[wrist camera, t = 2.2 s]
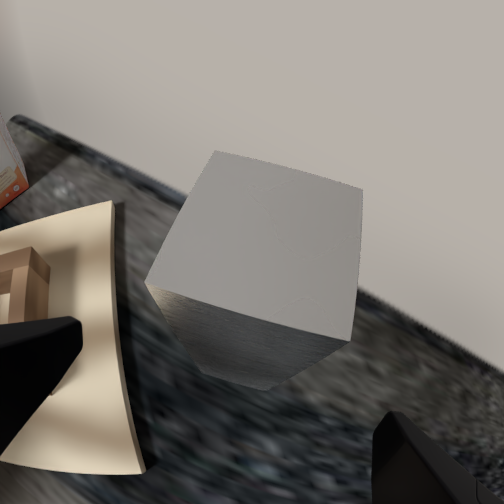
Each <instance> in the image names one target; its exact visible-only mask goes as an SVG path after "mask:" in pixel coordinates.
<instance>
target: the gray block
mask: <svg viewBox="0 0 504 504" xmlns="http://www.w3.org/2000/svg"><path fill="white" fill-rule="evenodd" d="M362 201H363V190H362V189H359V188H356V187H353V186H350V185H347V184H343V183H341V182H337V181H334V180H331V179H327V178H324V177H320V176H317V175H314V174H310V173H307V172H303V171H300V170H296V169H292V168H288V167H284V166H280V165H276V164H272V163H269V162H264V161H260V160H256V159H252V158H248V157H243V156H239V155H233V154H229V153H224V152H220V151H214V153H213V155H212V156H211V158H210V159H209V161H208V163H207V164H206V166H205V168H204V170H203V171H202V173H201V175H200V176H199V178H198V180H197V182H196V183H195V185H194V187H193V189H192V191H191V192H190V194H189V196H188V198H187V199H186V201H185V203H184V205H183V207H182V209H181V210H180V212H179V214H178V216H177V218H176V220H175V222H174V224H173V226H172V227H171V229H170V231H169V233H168V235H167V237H166V239H165V241H164V243H163V245H162V247H161V249H160V251H159V253H158V255H157V257H156V259H155V261H154V263H153V265H152V267H151V269H150V271H149V274H148V276H147V278H146V280H145V282H144V283H145V284H146V286H147V288H148V290H149V291H150V293H151V295H152V296H153V298H154V300H155V302H156V303H157V305H158V307H159V308H160V310H161V311H162V313H163V315H164V316H165V318H166V320H167V321H168V323H169V324H170V326H171V327H172V329H173V331H174V332H175V334H176V335H177V337H178V338H179V340H180V341H181V343H182V344H183V346H184V347H185V349H186V350H187V352H188V353H189V355H190V356H191V358H192V359H193V361H194V362H195V364H196V365H197V366H198V368H199V369H200V371H201V372H202V373H205V374H208V375H211V376H214V377H217V378H220V379H224V380H227V381H230V382H234V383H237V384H241V385H244V386H248V387H252V388H256V389H259V390H263V391H266V390H268V389H270V388H272V387H274V386H276V385H278V384H280V383H282V382H283V381H285V380H287V379H289V378H291V377H293V376H294V375H296V374H298V373H300V372H301V371H303V370H305V369H307V368H308V367H310V366H312V365H313V364H315V363H317V362H318V361H320V360H322V359H323V358H325V357H327V356H328V355H330V354H331V353H333V352H335V351H336V350H338V349H339V348H341V347H342V346H344V345H346V344H347V343H349V342H350V339H351V333H352V326H353V318H354V311H355V302H356V294H357V284H358V273H359V262H360V247H361V231H362V204H363V202H362Z"/></svg>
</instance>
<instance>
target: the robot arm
mask: <svg viewBox="0 0 504 504" xmlns="http://www.w3.org/2000/svg"><path fill="white" fill-rule="evenodd" d="M82 348H83V329H82V323H81V321H80V320H78V319H76V318H74V317H72V316H64V317H56V318H49V319H41V320H33V321H25V322H17V323H8V324H0V456H1V455H2V454H3V452H4V451H5V450H6V448H7V447H8V446H9V444H10V443H11V442H12V440H13V439H14V438H15V437H16V435H17V434H18V433H19V431H20V430H21V429H22V428H23V426H24V425H25V424H26V423H27V421H28V420H29V419H30V418H31V416H32V415H33V414H34V413H35V412H36V410H37V409H38V408H39V407H40V406H41V404H42V403H43V402H44V401H45V400H46V398H47V397H48V396H49V395H50V394H51V392H52V391H53V390H54V389H55V388H56V386H57V385H58V384H59V382H60V381H61V380H62V378H63V377H64V375H65V374H66V372H67V371H68V369H69V368H70V366H71V365H72V363H73V362H74V361H75V359H76V358H77V356H78V355H79V353H80V352H81V350H82ZM371 483H372V504H504V501H503V500H502V499H500V498H499V497H497V496H496V495H495V494H494V493H492V492H491V491H490V490H489V489H487V488H486V487H485V486H484V485H483V484H482V483H480V482H479V481H478V480H476V478H475V477H474V476H472V475H471V474H470V473H469V472H468V471H467V470H466V469H464V468H463V467H462V466H461V465H460V464H459V463H458V462H456V461H455V460H454V459H453V458H452V457H451V456H450V455H449V454H447V453H446V452H445V451H444V450H443V449H442V448H441V447H440V446H439V445H437V444H436V443H435V442H434V441H433V440H432V439H431V438H430V437H429V436H427V435H426V434H425V433H424V432H423V431H422V430H421V429H420V428H419V427H417V426H416V425H415V424H414V423H413V422H412V421H411V420H410V419H409V418H408V417H406V416H405V415H404V414H403V413H402V412H396V411H390V412H388V413H387V414H386V415H385V416H384V418H383V419H382V421H381V422H380V423H379V425H378V426H377V428H376V429H375V431H374V433H373V443H372V472H371Z"/></svg>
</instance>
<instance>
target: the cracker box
mask: <svg viewBox="0 0 504 504" xmlns="http://www.w3.org/2000/svg"><path fill="white" fill-rule="evenodd" d="M28 188H29V184H28V180H27V176H26V172H25V167H24V163H23V161H22V159H21V157H20V155H19V153H18V151H17V149H16V147H15V145H14V142H13V140H12V138H11V136H10V134H9V132H8V129H7V127H6V125H5V123H4V120H3V118H2V116H1V113H0V209H1V208H2V207H4V206H5V205H6V204H7V203H9V202H10V201H11V200H13V199H14V198H15V197H17V196H18V195H19V194H21V193H22V192H23V191H25V190H26V189H28Z"/></svg>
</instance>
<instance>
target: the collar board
mask: <svg viewBox="0 0 504 504" xmlns="http://www.w3.org/2000/svg"><path fill="white" fill-rule="evenodd" d="M114 227H115V207H114V204H113V202H112V200H111V201H107V202H103V203H98V204H94V205H90V206H86V207H82V208H78V209H74V210H71V211H67V212H63V213H60V214H56V215H52V216H49V217H45V218H42V219H38V220H35V221H32V222H28V223H25V224H22V225H19V226H16V227H13V228H9V229H6V230H3V231H0V324H8V323H17V322H25V321H33V320H41V319H49V318H56V317H64V316H72V317H74V318H76V319H78V320H80V321H81V323H82V329H83V348H82V350H81V352H80V353H79V355H78V356H77V358H76V359H75V361H74V362H73V363H72V365H71V366H70V368H69V369H68V371H67V372H66V374H65V375H64V377H63V378H62V380H61V381H60V382H59V384H58V385H57V386H56V388H55V389H54V390H53V391H52V392H51V394H50V395H49V396H48V397H47V398H46V400H45V401H44V402H43V403H42V404H41V406H40V407H39V408H38V409H37V410H36V412H35V413H34V414H33V415H32V416H31V418H30V419H29V420H28V421H27V423H26V424H25V425H24V426H23V428H22V429H21V430H20V431H19V433H18V434H17V435H16V437H15V438H14V439H13V440H12V442H11V443H10V444H9V446H8V447H7V448H6V450H5V451H4V452H3V454H2V455H1V456H0V461H4V462H8V463H13V464H17V465H22V466H27V467H33V468H39V469H46V470H53V471H61V472H72V473H85V474H142V473H144V472H145V471H146V468H145V465H144V461H143V458H142V454H141V450H140V447H139V443H138V439H137V435H136V431H135V426H134V422H133V417H132V413H131V408H130V403H129V398H128V392H127V387H126V381H125V375H124V368H123V361H122V354H121V346H120V338H119V328H118V317H117V305H116V288H115V261H114Z"/></svg>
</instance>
